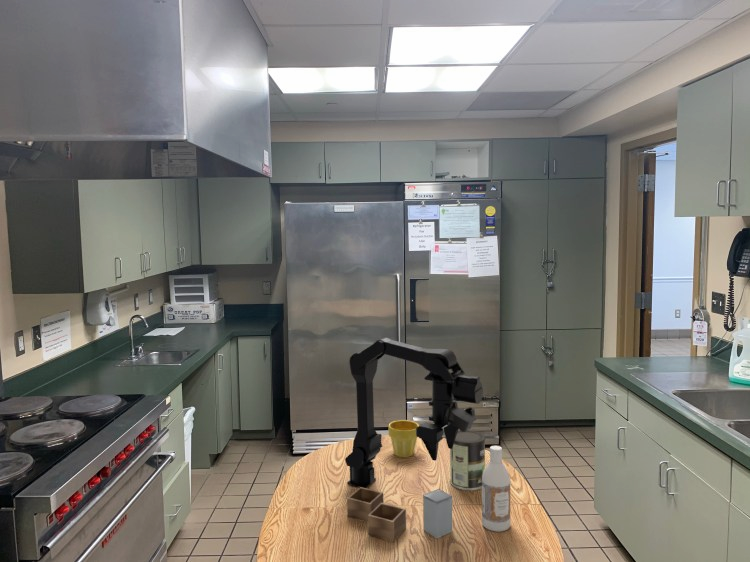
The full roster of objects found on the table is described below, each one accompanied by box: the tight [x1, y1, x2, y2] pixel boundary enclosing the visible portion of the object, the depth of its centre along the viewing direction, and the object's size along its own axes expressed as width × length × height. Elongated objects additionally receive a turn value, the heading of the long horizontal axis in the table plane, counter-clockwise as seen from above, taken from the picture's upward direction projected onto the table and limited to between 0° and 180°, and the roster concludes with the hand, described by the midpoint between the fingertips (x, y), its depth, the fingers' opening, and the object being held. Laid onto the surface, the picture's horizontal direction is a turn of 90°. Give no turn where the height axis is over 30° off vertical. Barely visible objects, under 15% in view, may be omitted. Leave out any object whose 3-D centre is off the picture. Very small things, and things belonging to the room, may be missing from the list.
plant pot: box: [387, 419, 420, 458], centre depth 178 cm, size 10×10×10 cm
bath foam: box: [481, 445, 511, 533], centre depth 132 cm, size 7×7×20 cm
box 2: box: [367, 503, 407, 543], centre depth 131 cm, size 7×7×5 cm
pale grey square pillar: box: [422, 488, 453, 539], centre depth 131 cm, size 5×5×9 cm
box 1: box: [346, 487, 385, 523], centre depth 139 cm, size 7×7×5 cm
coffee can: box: [449, 429, 486, 491], centre depth 156 cm, size 10×10×14 cm
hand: (442, 454), depth 143 cm, fingers open, 9 cm apart
